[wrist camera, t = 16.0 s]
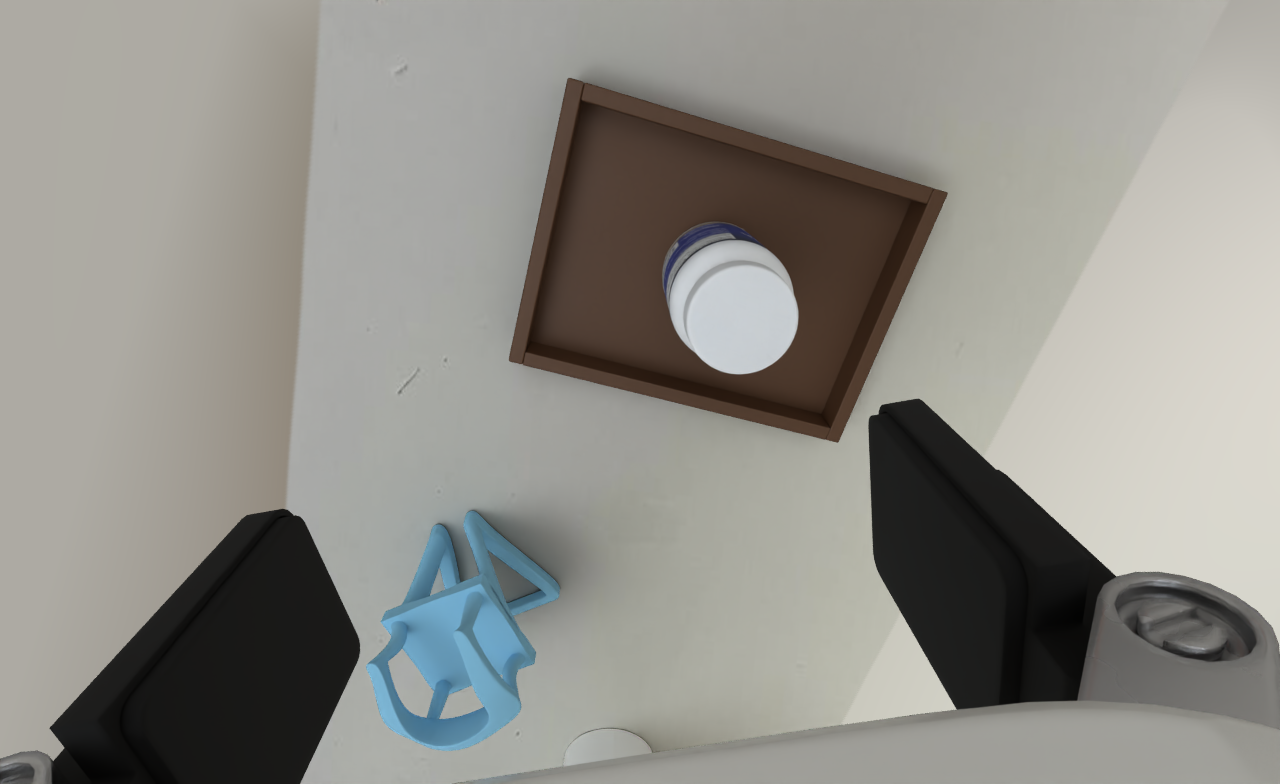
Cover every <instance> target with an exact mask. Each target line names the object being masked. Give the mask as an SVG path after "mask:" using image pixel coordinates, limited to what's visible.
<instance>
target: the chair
mask: <svg viewBox="0 0 1280 784" xmlns="http://www.w3.org/2000/svg"><path fill="white" fill-rule="evenodd" d="M464 529H465V532H466V535H467V538H468V540H469V543H470V546H471V549H472V552H473V554H474V557H475V560H476V563H477V566H478V570H479V576H476V577H473V578H471V579H468V580H466V581H463V582H460V577H459V572H458V567H457V562H456V558H455V553H454V549H453V545H452V542H451V539H450V536H449V534H448V532H447V530H446V529H445V527H443V526H442V525H439V524H438V525H435V526H433V528H432V531H431V534H430V537H429V541H428V543H427V546H426V549H425V552H424V554H423V557H422V560H421V562H420V565H419V567H418V570H417V572H416V575H415V577H414V580H413V582H412V584H411V587H410V589H409V591H408V593H407V596H406V598H405V600H404V602H403V603H402V605H401V606H398V607H395V608H393V609H390V610H388V611H386V612H385V614H384V616H383V618H382V620H381V623H382V624H383V626H384V627H385V628H386V630H387V631H388V632H389V633H390V635H391V639H390V641H389V643H388V645H387V646H386V647H385V648H384V649H383V651H381V652H380V653H379V654H378V655H377V656H376V657H375V658H374V659H373V660H372V661H370V662H369V663H368V664H367V666H366V668H367V671H368V673H369V675H370V677H371V680H372V683H373V687H374V691H375V696H376V700H377V705H378V708H379V712H380V715H381V717H382V719H383V721H384V723H385V724H386V725H387V726H388V727H389V728H390V729H391V730H393V731H394V732H396V733H397V734H400V735H402V736H404V737H406V738H409V739H411V740H413V741H415V742H417V743H419V744H422V745H424V746H426V747H428V748H431V749H436V750H443V751H452V750H460V749H464V748H468V747H470V746H472V745H475V744H477V743H479V742H480V741H482V740H484V739H486V738H487V737H489V736H491V735H492V734H494V733H495V732H497V731H498V730H499V729H501V728H502V727H504V726H505V725H506V724H507V723H509V722H510V721H511V720H512V719H514V718H515V717H516V716H517V715H518V713H519V712H520V710H521V702H520V699H519V695H518V689H517V683H516V675H517V672H518V669H521V668H524V667H527V666H530V665H532V664H534V663H535V657H536V652H535V650H534V649H533V647H532V646H531V644H530V643H529V641H528V639H527V638H526V637H525V635H524V634H523V633H522V632H521V630H520V629H519V627H518V625H517V623H516V621H515V619H514V617H513V616H514V615H517V614H519V613H522V612H525V611H527V610H530V609H533V608H535V607H538V606H541V605H543V604H546V603H549V602H551V601H554V600H556V599H557V598H558V597H559V592H560V587H559V585H558V583H557V582H556V581H555V580H554V579H553V578H552V577H551V576H550V575H549V574H548V573H546V572H545V571H544V570H543V569H542V568H540V567H539V566H538V565H537V564H536V563H534V562H533V561H532V560H531V559H529V558H528V557H527V556H526V555H524V554H523V553H522V552H521V551H520V550H518V549H517V548H516V547H515V546H513V545H512V544H511V543H510V542H508V541H507V540H506V539H505V538H504V537H503V536H501V535H500V534H499V533H498V532H497V531H496V530H494V529H493V528H492V527H491V526H490V525H489V524H488V523H487V522H486V521H485V520H484V519H483V518H482V517H481V516H480V515H479V514H478V513H477V512H475V511H469V512H468V513H467V514H466V517H465V521H464ZM487 550H488V551H490V552H491V553H492V554H494V555H495V556H496V557H498V558H499V559H500V560H502V561H503V562H504V563H506V564H507V565H508V566H510V567H511V568H512V569H514V570H515V571H516V572H518V573H519V574H521V575H522V576H523V577H525V578H526V579H527V580H529V581H530V582H531V583H533V584H534V585H535V586H537V587H538V588H539V589H541V591H539V592H536V593H533V594H531V595H528V596H525V597H523V598H520V599H517V600H515V601H512V602H510V603H506V601H505V598H504V595H503V593H502V590H501V587H500V585H499V582H498V579H497V576H496V574H495V571H494V568H493V565H492V562H491V559H490V556H489V553H488V551H487ZM439 567H440V571H441V574H442V578H443V582H444V586H445V590H444V591H441V592H439V593H436V594H433V595H431V596H430V593H431V590H432V586H433V583H434V580H435V578H436V575H437V572H438V569H439ZM401 649H403V650H404V651H405V652H406V654H407V655H408V656H409V657H410V659H411V660H412V661H413V663H414V664H415V665H416V667H417V668H418V669H419V671H420V672H421V674H422V675H423V677H424V678H425V680H426V681H427V683H428V684H429V686H430V687H431V688H432V689H433V691H434V693H433V697H432V701H431V704H430V708H429V711H428V715H427V718H424V717H420V716H417V715H414V714H412V713H411V712H409V711H408V710H407V709H406V708H405V707H404V705H403V704H402V702H401V700H400V699H399V697H398V694H397V692H396V690H395V687H394V684H393V681H392V678H391V674H390V670H389V666H388V661H389V660H390V659H391V658H393V657H394V656H395V655H396V654H397V653H398V652H399V651H400V650H401ZM502 674H503V679H502V678H501V677H500V675H502ZM471 685H472V686H473V688H474V691H475V693H476V695H477V697H478V698H479V700H480V701H481V703H482V704H483V706H484V707H483V708H481V709H479V710H477V711H474V712H472V713H469V714H466V715H463V716H459V717H455V718H449V719H439V718H440V715H441V713H442V710H443V708H444V705H445V702H446V700H447V697H448V695H449V694H451V693H454V692H457V691H460V690H462V689H464V688H467V687H469V686H471Z"/></svg>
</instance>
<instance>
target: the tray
mask: <svg viewBox="0 0 1280 784" xmlns="http://www.w3.org/2000/svg"><path fill="white" fill-rule="evenodd" d="M947 194H948V193H947V192H944V191H940V190H937V189H933V188H930V187H927V186H924V185H921V184H917V183H914V182H911V181H907V180H904V179H901V178H898V177H894V176H891V175H888V174H884V173H881V172H878V171H875V170H871V169H868V168H865V167H861V166H858V165H855V164H852V163H848V162H845V161H842V160H838V159H835V158H832V157H829V156H825V155H822V154H819V153H815V152H812V151H809V150H805V149H802V148H799V147H796V146H792V145H789V144H786V143H782V142H779V141H776V140H773V139H769V138H766V137H763V136H759V135H756V134H753V133H750V132H746V131H743V130H740V129H736V128H733V127H730V126H727V125H723V124H720V123H717V122H713V121H710V120H707V119H704V118H700V117H697V116H694V115H690V114H687V113H684V112H681V111H677V110H674V109H671V108H667V107H664V106H661V105H657V104H654V103H651V102H648V101H644V100H641V99H638V98H634V97H631V96H628V95H625V94H621V93H618V92H615V91H611V90H608V89H605V88H602V87H598V86H595V85H592V84H588V83H583V82H582V81H579V80H575V79H572V78H568V80H567V84H566V89H565V94H564V99H563V103H562V108H561V113H560V118H559V122H558V127H557V132H556V137H555V141H554V146H553V151H552V156H551V161H550V165H549V170H548V175H547V180H546V184H545V189H544V194H543V199H542V203H541V208H540V213H539V218H538V223H537V227H536V232H535V237H534V242H533V246H532V251H531V256H530V261H529V265H528V270H527V275H526V280H525V285H524V289H523V294H522V299H521V304H520V308H519V313H518V318H517V323H516V327H515V332H514V337H513V342H512V347H511V351H510V356H509V361H510V362H514V363H518V364H523V365H525V366H529V367H533V368H537V369H542V370H546V371H550V372H554V373H558V374H562V375H566V376H570V377H574V378H578V379H582V380H586V381H590V382H594V383H598V384H602V385H606V386H610V387H614V388H618V389H623V390H627V391H631V392H635V393H639V394H643V395H647V396H651V397H655V398H659V399H663V400H667V401H671V402H675V403H679V404H683V405H687V406H691V407H695V408H700V409H704V410H708V411H712V412H716V413H720V414H724V415H728V416H732V417H736V418H740V419H744V420H748V421H752V422H756V423H760V424H764V425H768V426H772V427H777V428H781V429H785V430H789V431H793V432H797V433H801V434H805V435H809V436H813V437H817V438H821V439H826V440H829V441H833V442H839V440H840V437H841V435H842V433H843V430H844V428H845V426H846V424H847V421H848V419H849V417H850V415H851V412H852V410H853V408H854V405H855V403H856V401H857V399H858V396H859V394H860V392H861V390H862V387H863V385H864V383H865V381H866V378H867V376H868V374H869V371H870V369H871V367H872V365H873V362H874V360H875V358H876V356H877V353H878V351H879V349H880V346H881V344H882V342H883V340H884V337H885V335H886V333H887V331H888V328H889V326H890V324H891V321H892V319H893V317H894V315H895V312H896V310H897V308H898V306H899V303H900V301H901V299H902V296H903V294H904V292H905V290H906V287H907V285H908V283H909V281H910V278H911V276H912V274H913V271H914V269H915V267H916V265H917V262H918V260H919V258H920V256H921V253H922V251H923V249H924V247H925V244H926V242H927V240H928V237H929V235H930V233H931V231H932V228H933V226H934V224H935V222H936V219H937V217H938V215H939V212H940V210H941V208H942V206H943V203H944V201H945V199H946V197H947ZM708 222H725V223H730V224H733V225H736V226H738V227H740V228H742V229H743V230H745V231H746V232H747V233H749V234H750V235H751V236H752V237H754V238H755V239H756V240H757V241H758V242H760V243H761V244H762V245H763V246H764V247H766V248H767V249H768V250H769V251H770V252H772V253H773V254H774V255H775V256H776V257H777V258H778V259H779V260H780V262H781V263H782V264H783V266H784V267H785V269H786V271H787V273H788V274H789V277H790V279H791V282H792V286H793V292H794V296H795V299H796V302H797V306H798V326H797V331H796V334H795V336H794V339H793V341H792V343H791V345H790V346H789V348H788V349H787V351H786V352H785V353H784V354H783V355H782V356H781V357H780V358H779V359H778V360H777V361H776V362H774V363H773V364H772V365H770V366H768V367H766V368H764V369H762V370H760V371H757V372H753V373H748V374H730V373H725V372H722V371H719V370H717V369H714V368H713V367H711V366H709V365H708V364H706V363H705V362H704V361H703V360H702V359H701V358H700V357H699V356H698V355H697V354H696V353H695V352H694V351H692V350H691V349H690V348H689V347H688V346H687V345H686V344H685V343H684V342H683V341H682V339H681V338H680V337H679V335H678V334H677V332H676V330H675V328H674V325H673V322H672V320H671V317H670V313H669V308H668V304H667V300H666V297H665V293H664V289H663V283H662V270H663V264H664V260H665V257H666V255H667V253H668V251H669V249H670V247H671V246H672V244H673V243H674V242H675V241H676V240H677V238H678V237H680V236H681V235H682V234H683V233H684V232H686V231H687V230H689V229H690V228H692V227H694V226H697V225H700V224H703V223H708Z"/></svg>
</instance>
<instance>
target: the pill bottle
mask: <svg viewBox="0 0 1280 784" xmlns="http://www.w3.org/2000/svg"><path fill="white" fill-rule="evenodd" d="M662 283H663V289H664V293H665V297H666V300H667V304H668V308H669V313H670V317H671V320H672V322H673V325H674V328H675V330H676V332H677V334H678V335H679V337H680V338H681V339H682V341H683V342H684V343H685V344H686V345H687V346H688V347H689V348H690V349H691V350H692V351H694V352H695V353H696V354H697V355H698V356H699V357H700V358H701V359H702V360H703V361H704V362H705V363H706V364H708V365H709V366H711V367H713V368H714V369H717V370H719V371H722V372H725V373H730V374H748V373H753V372H757V371H760V370H762V369H764V368H766V367H768V366H770V365H772V364H773V363H774V362H776V361H777V360H778V359H779V358H780V357H781V356H782V355H783V354H784V353H785V352H786V351H787V349H788V348H789V346H790V345H791V343H792V341H793V339H794V336H795V334H796V331H797V326H798V306H797V302H796V299H795V296H794V292H793V286H792V282H791V279H790V277H789V274H788V273H787V271H786V269H785V267H784V266H783V264H782V263H781V262H780V260H779V259H778V258H777V257H776V256H775V255H774V254H773V253H772V252H770V251H769V250H768V249H767V248H766V247H764V246H763V245H762V244H761V243H760V242H758V241H757V240H756V239H755V238H754V237H752V236H751V235H750V234H749V233H747V232H746V231H745V230H743V229H742V228H740V227H738V226H736V225H733V224H730V223H725V222H708V223H703V224H700V225H697V226H694V227H692V228H690V229H689V230H687V231H686V232H684V233H683V234H682V235H681V236H680V237H678V238H677V240H676V241H675V242H674V243H673V244H672V246H671V247H670V249H669V251H668V253H667V255H666V257H665V260H664V264H663V270H662Z"/></svg>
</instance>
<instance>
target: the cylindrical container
mask: <svg viewBox="0 0 1280 784" xmlns="http://www.w3.org/2000/svg"><path fill="white" fill-rule="evenodd" d="M648 753H653V752H652V750H651V748H650V747H649V745H648V744H647V743H646V742H645V741H644V740H643V739H641V738H640V737H639V736H637V735H635V734H633V733H631V732H628V731H624V730H620V729H598V730H594V731H590V732H587V733H585V734H583V735H581V736H579V737H578V738H577V739H575V740H574V741H573V742H572V743H571V744H570V745H569V746H568V748H567V750H566V752H565V756H564V764H563V766H570V765H576V764H583V763H589V762H596V761H602V760H609V759H615V758H622V757H628V756H635V755H642V754H648Z"/></svg>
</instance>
